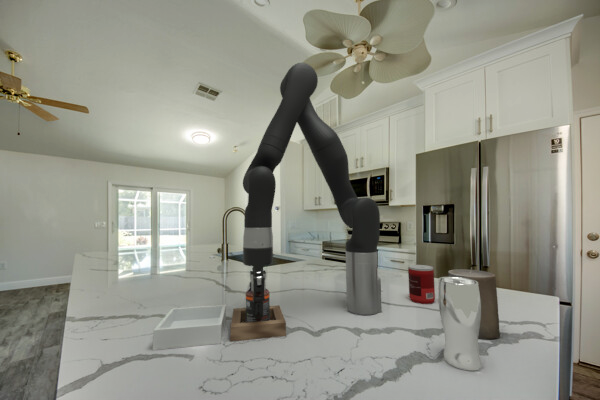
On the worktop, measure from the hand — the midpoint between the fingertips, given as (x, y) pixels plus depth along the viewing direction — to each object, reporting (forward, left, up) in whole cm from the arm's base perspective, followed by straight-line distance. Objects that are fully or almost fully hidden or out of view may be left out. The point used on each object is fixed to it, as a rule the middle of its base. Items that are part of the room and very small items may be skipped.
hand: (257, 312), depth 65 cm
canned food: (-54, -10, -4) cm, 55 cm away
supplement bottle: (0, 0, -4) cm, 4 cm away
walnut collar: (0, 0, -4) cm, 4 cm away
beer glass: (-37, +24, -4) cm, 44 cm away
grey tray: (+15, 0, -4) cm, 15 cm away
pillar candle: (-51, +13, -4) cm, 53 cm away
